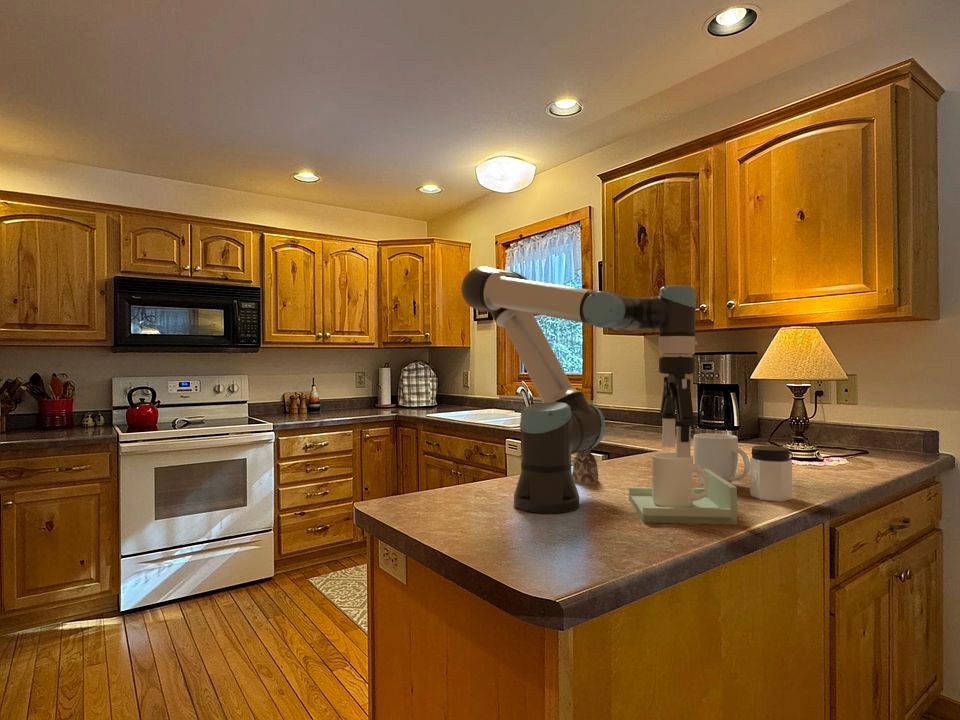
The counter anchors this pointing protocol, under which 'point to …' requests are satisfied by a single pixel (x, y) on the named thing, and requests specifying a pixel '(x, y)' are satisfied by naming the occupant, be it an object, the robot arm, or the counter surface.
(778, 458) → the jar
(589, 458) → the figurine
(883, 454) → the counter surface
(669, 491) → the mug
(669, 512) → the tray
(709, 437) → the mug
